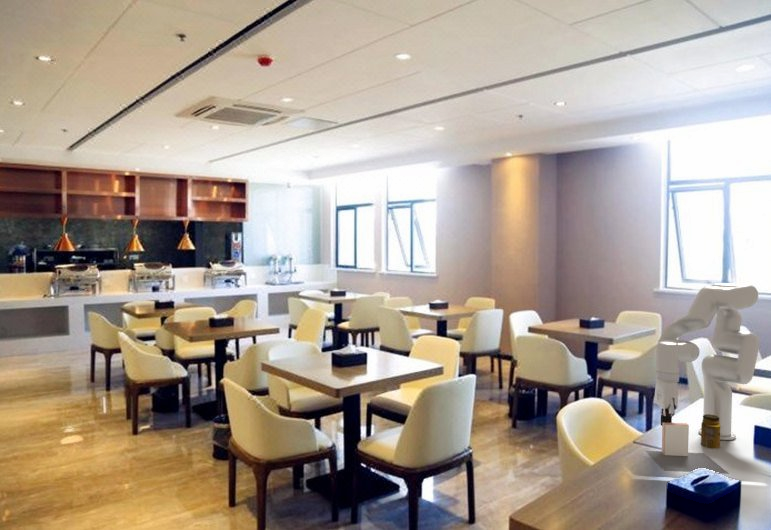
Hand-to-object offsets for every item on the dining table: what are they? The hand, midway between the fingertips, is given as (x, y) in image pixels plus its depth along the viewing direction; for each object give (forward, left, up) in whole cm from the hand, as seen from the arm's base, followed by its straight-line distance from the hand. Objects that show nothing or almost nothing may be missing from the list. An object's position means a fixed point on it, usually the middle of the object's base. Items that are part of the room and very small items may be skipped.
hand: (665, 426), depth 204 cm
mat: (+14, +1, -9) cm, 16 cm away
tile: (+8, 0, -8) cm, 11 cm away
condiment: (-3, +16, -9) cm, 19 cm away
